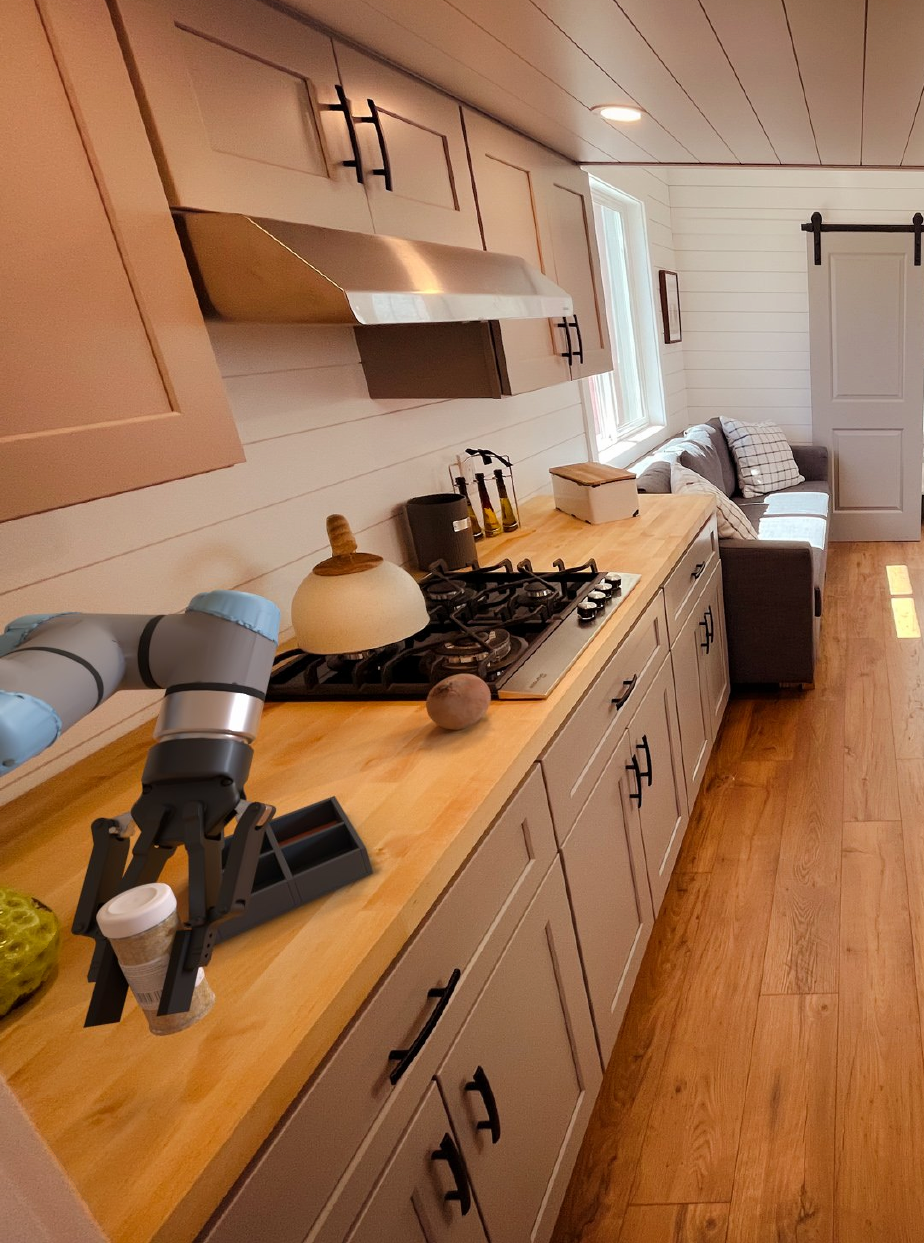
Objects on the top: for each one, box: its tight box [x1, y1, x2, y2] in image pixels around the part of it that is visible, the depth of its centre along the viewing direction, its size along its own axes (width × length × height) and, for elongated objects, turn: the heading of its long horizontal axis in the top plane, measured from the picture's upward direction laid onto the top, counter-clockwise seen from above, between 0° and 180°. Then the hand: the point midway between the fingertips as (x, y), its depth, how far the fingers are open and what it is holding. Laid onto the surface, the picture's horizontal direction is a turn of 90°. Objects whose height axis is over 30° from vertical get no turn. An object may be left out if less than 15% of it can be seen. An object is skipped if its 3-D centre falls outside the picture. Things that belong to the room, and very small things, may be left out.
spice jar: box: [96, 882, 216, 1037], centre depth 62 cm, size 5×5×14 cm
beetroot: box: [425, 673, 492, 731], centre depth 119 cm, size 10×9×10 cm
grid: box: [186, 795, 374, 946], centre depth 86 cm, size 15×15×4 cm
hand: (138, 1018), depth 60 cm, fingers closed on spice jar, 4 cm apart
